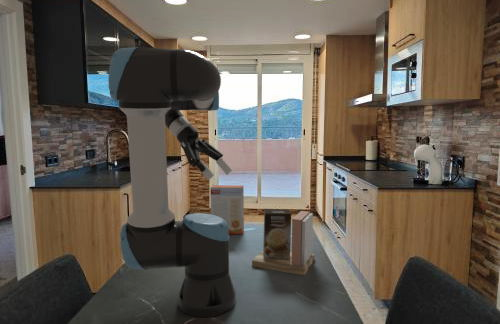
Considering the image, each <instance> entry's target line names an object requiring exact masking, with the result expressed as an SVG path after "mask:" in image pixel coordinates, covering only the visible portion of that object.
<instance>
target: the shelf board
mask: <svg viewBox="0 0 500 324" xmlns="http://www.w3.org/2000/svg"><path fill="white" fill-rule="evenodd" d="M314 260H315V253H312V256H311V258H310V259H309V261H308V262H307V264H306V265H305V267H299V266H294V265H292V249H290V260H279V259H264V257H263V250H261V251H260V252H259V253H257V255H256V256H255V257H254V258H253V259H252V260H251V267H256V268H259V269H261V268H262V269H267V270H273V271H276V272H278V271H279V272H283V273H288V274H294V275H300V276H306V274H307V272H308V271H309V270H310V267H311V266H312V264H313V263H314Z"/></svg>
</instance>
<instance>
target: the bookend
mask: <svg viewBox="0 0 500 324" xmlns="http://www.w3.org/2000/svg"><path fill="white" fill-rule="evenodd" d="M313 220H314V214H313V212H309V215H308V216H307V217H306V218H305V219H304V220H303V221H302V251H301V265H295V264H292V265H294V266H299V267H305V265H306V264H307V262H308V261H309V259H310V258H311V256H312V254H313V229H314V227H313V225H314V221H313Z"/></svg>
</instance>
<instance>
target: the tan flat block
mask: <svg viewBox="0 0 500 324" xmlns="http://www.w3.org/2000/svg"><path fill="white" fill-rule="evenodd" d="M309 214H310V211H306V210H305V211H304V210H301V211H299V212H298V213H297V214H296V215H295V216H293V218H291V251H292V264H295V265H301V251H302V221H303V220H304V219H305V218H306V217H307V216H308V215H309Z"/></svg>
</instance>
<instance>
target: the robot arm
mask: <svg viewBox="0 0 500 324" xmlns="http://www.w3.org/2000/svg"><path fill="white" fill-rule="evenodd" d="M221 80H222V78H221V74H220V72H219V69H218V68H217V66H216V65H215V64H214V63H213V62H212V61H211V60H210V59H208V58H207V57H205V56H203V55H201V54H200V53H198V52H196V51H193V50H190V49H183V48H159V47H158V48H156V47H137V46H135V47H123V48H121V47H120V48H119V49H117V50H115V51H114V53H113V55H112V57H111V60H110V64H109V69H108V89H109V95H110V96H109V97H111V99H113V100H114V101H116V102H118V105H119V110H120V111H121V112H123V113H124V114H125V115H126V122H127V123H126V124H127V138H128V139H127V140H128V154H129V167H130V169H129V170H130V183H131V185H130V186H131V201H132V213H131V214H130V215H128V217H127V218H126V223H124V224H123V225H122V226H121V229H120V244H119V245H120V251H121V252H120V253H121V255H122V259H123V261H124V263H125V265H126V266H127V267H128V268H130V270H131V269H132V270H144V271H147V270H149V269H150V270H151V269H165V268H166V269H170V268H184V277H183V281H182V283H181V287H180V289H179V292H178V307H179V309H180V310H181V311H182V312H183V313H184V314H187V315H189V316H192V317H197V318H199V317H200V318H209V317H215V316H219V315H222V314H224V313H227V312H229V311H230V310H231V309H233V307H234V306H235V304H236V298H237V297H236V296H237V295H236V294H237V293H236V290H235V287H234V283H233V281H232V278H231V275H230V261H229V260H230V255H229V254H230V252H229V251H230V250H229V249H230V247H229V243H230V242H229V240H230V234H229V232H228V224H227V222H226V221H225V220H224V219H223V218H221V217H218V216H215V215H211V213H204V212H203V213H199V212H195V213H189V214H186V215H185V216H184V217H183V219H182V220H179V221H178V220H176V215H175V213H174V212H173V211H172V210H170V209H169V191H168V190H169V188H168V186H169V185H168V161H167V159H168V158H167V136H166V135H167V134H166V128H167V129H168V130H169V131H170V133H171V134H172V136H174V137H175V138H176V140H177V141H178V142H179V144H180V147H181V149H182V151H183V153H184V154H185V157H186V159H187V162H188V164H189V165H190V166H191V167H193V168H195V167H196V168H197V169H198V171H200V172H201V174H202V175H203V176H204V177H205V178H206V180H207V181H210V180H211V179H212V178H213V177H214V176H215V174H214V173H213V172H212V170H211V169H210V168H209V166H208V165H207V164H206V163H205V162H204V161H203V160H201V158H200V154H205V155H206V156H208V157H210V158H211V159H212V160H214V161H215V163H216V165H218V167H219V168H220V169H221V170H222V171H223V172H224V173H225V175H226V176H228V175H229V174H230V173H231V172H232V171H233V169H232V168H231V167H230V165H229V164H228V163H227V162H226V160H224V158H223V157H224V154H223V153H222V152H220V151H219V150H218V149H216V148H215V147H214V146H213V145H212V144H210V143H209V142H208V141H207V140H206V139H205V138H202V139H200V138H199V131H198V130H197V129H196V128H195V127H194V126H193V125H192V123H191V122H190V121H189V120H188V119H187V118H186V116H184V114H183V113H182V112H181V111H208V112H212V111H218V110H219V107H220V94H219V92H220V88H221V84H222V81H221Z"/></svg>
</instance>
